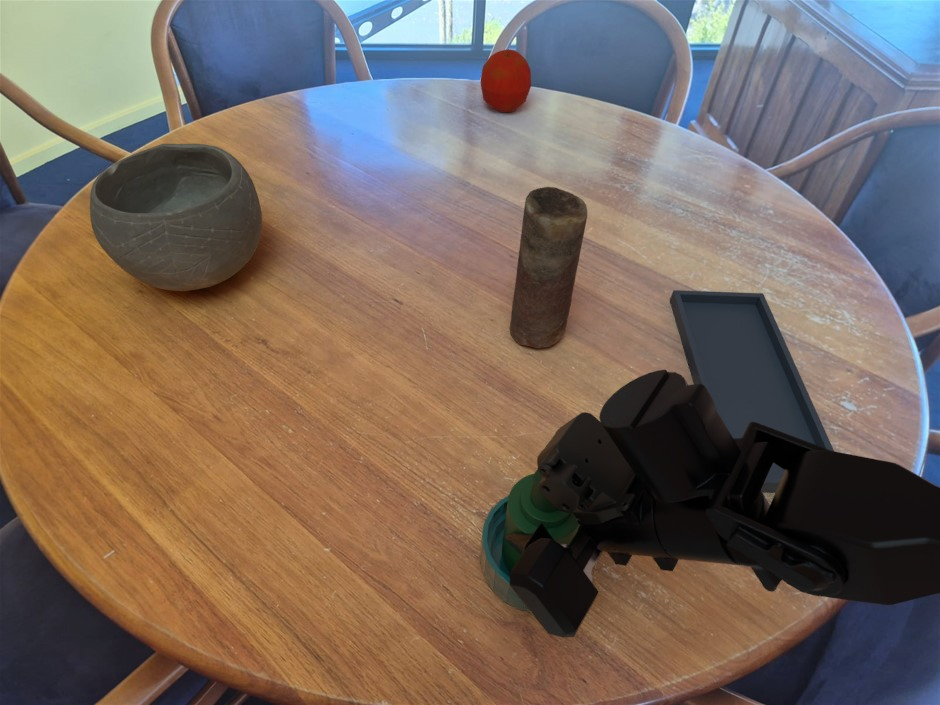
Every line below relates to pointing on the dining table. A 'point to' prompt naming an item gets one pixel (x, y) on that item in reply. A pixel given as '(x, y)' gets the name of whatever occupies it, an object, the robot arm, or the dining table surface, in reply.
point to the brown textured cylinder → (547, 265)
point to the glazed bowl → (498, 556)
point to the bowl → (177, 215)
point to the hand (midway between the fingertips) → (528, 511)
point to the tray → (745, 366)
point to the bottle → (534, 517)
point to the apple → (505, 80)
